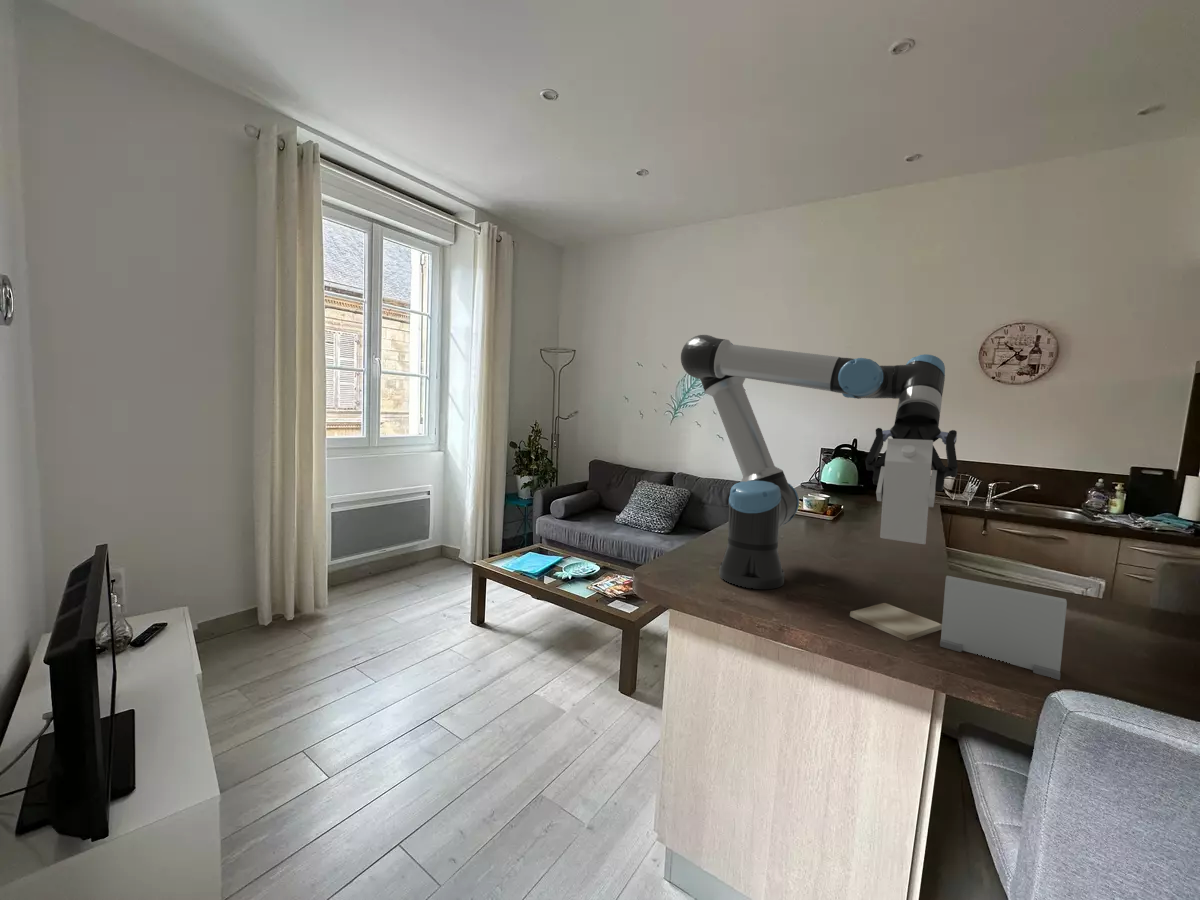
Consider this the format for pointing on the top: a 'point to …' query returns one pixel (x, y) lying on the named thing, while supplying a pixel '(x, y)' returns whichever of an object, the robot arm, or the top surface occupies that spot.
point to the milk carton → (906, 490)
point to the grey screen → (1004, 624)
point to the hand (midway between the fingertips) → (904, 499)
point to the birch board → (896, 621)
